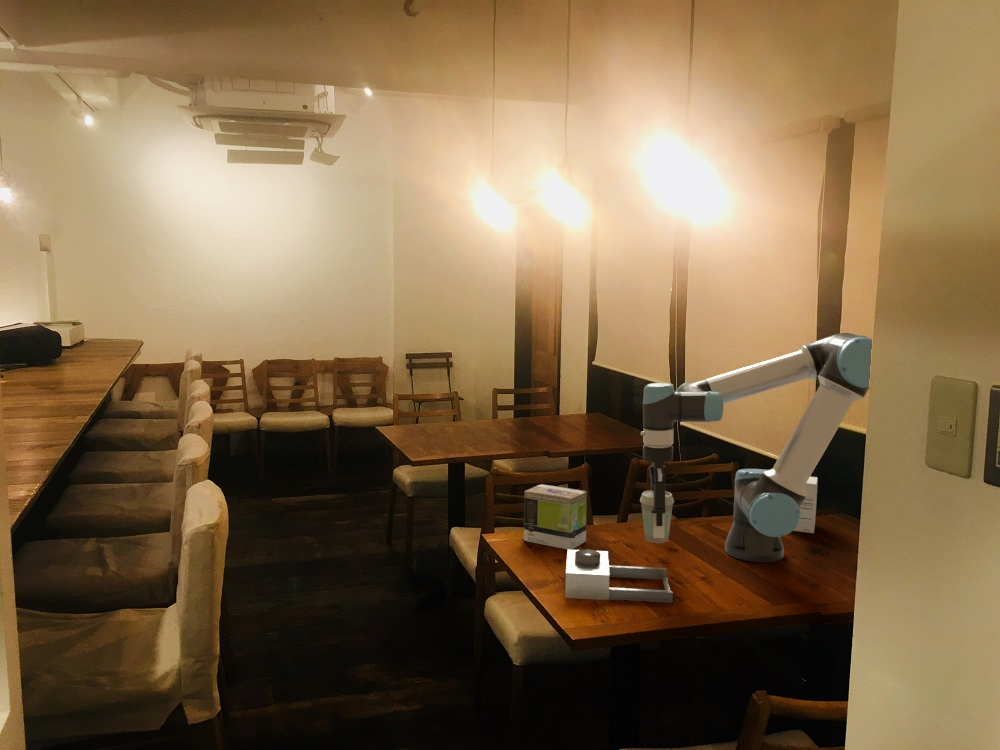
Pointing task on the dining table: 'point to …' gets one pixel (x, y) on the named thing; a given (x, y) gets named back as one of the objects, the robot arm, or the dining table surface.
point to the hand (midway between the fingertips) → (657, 532)
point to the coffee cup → (647, 507)
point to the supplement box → (808, 507)
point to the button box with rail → (592, 579)
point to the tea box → (555, 516)
